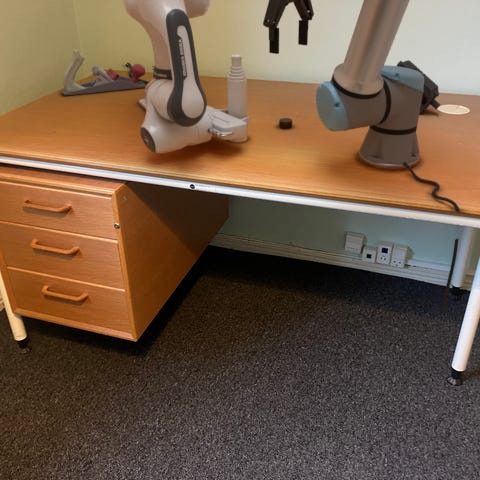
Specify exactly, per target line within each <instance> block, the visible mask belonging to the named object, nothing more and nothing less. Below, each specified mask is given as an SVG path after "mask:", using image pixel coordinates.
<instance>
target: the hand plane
mask: <svg viewBox="0 0 480 480" xmlns="http://www.w3.org/2000/svg"><path fill="white" fill-rule="evenodd" d="M85 59H86V58H85V56H84V55H83V54H82V53H81V52H80V51H79V50H77V49H76V48H73V50H72V58H71V62H70V63H69V65H68V67H67V68H66V70H65V72H64V74H63V80H62V84H63V88H62V90H61V93H62V95H63V96H74V95H84V94H94V93H104V92H112V91H113V92H114V91H121V90H132V89H142V88H145V87H146V83H144V82H143V81H137V80H138V79H141V78H142V77H144V76H145V75H146V68H145V66H143V65H141V64H139V63H134V64H133V65H131V66H132V72H131V73H132V75H133V76H132V77H126V76H123V75H120V74H119V73H117V72H116V71H114V70H113V69H112V68H111V67H109V68H108V70H107V71H105V70H104V69H103V68H102V67H100V65H94V66H92V68H91V70H90V72H91V75H93V76H94V77H97V78H95V79H90V81H89V82H86V83H80V84H78V83H77V82H76V81H75V78H76V74H77V72H78V71H79V69H80V68H81V66H82V65H83V63H84V61H85Z"/></svg>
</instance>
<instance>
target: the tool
mask: <svg viewBox="0 0 480 480" xmlns="http://www.w3.org/2000/svg"><path fill="white" fill-rule="evenodd" d="M396 66H399V67H404V68H409V69H413V70H416V71H418V72H420V73H421V74H422V75H423V76H424V87H423V90H424V92H423V96H422V101H421V107H420V112H419V114H421V113H423V112H424V111H425V110H427V109H428V108H429V107H430V106H431V107H432V108H433V109H435V110H437V109H439V107H441V105H442V104H441V103H440V102H438V101H437V99H436V98H437V97H439V96H440V92H439V86H438V84H437V83H436V82H434V81H433V79H431V78H430V77H429V76H428V75H427V74H426V73H424V72H423V71H422V69H420V68H419V67H418V66H417V65H416V64H414V62H412V61H411V60H409V59H408V60H404V61H402V60H400V61H398V62H397V64H396Z"/></svg>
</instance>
